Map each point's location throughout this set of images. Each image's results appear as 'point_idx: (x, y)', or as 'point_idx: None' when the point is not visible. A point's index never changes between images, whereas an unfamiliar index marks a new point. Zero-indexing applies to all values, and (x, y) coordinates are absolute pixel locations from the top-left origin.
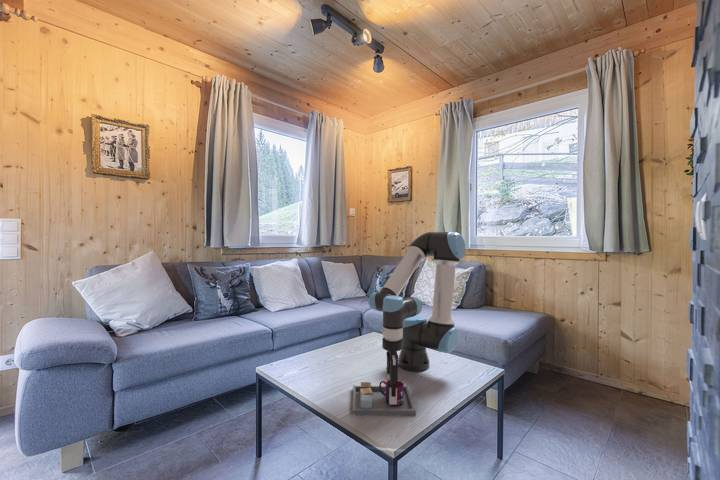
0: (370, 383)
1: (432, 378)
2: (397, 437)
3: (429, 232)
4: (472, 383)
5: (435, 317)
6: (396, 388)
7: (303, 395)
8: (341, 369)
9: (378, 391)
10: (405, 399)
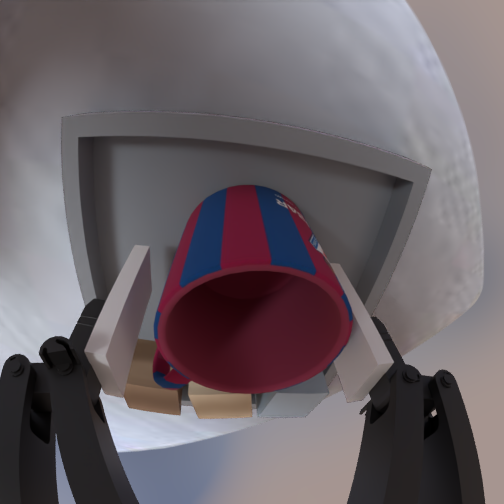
0: (134, 386)
1: None
2: (463, 277)
3: None
4: None
5: None
6: (385, 353)
7: (175, 443)
8: (3, 362)
9: None
10: (221, 157)
